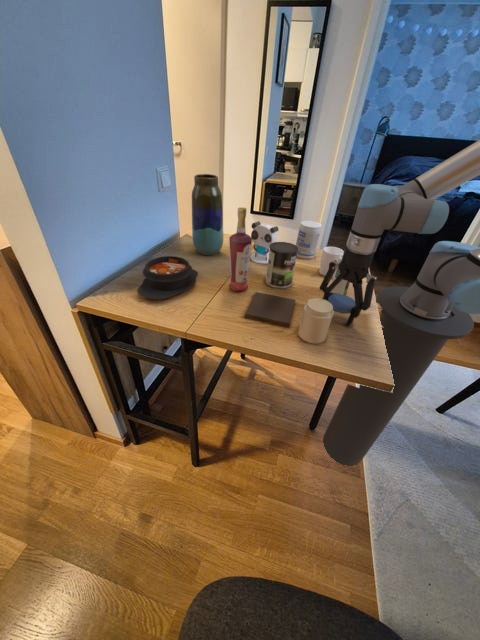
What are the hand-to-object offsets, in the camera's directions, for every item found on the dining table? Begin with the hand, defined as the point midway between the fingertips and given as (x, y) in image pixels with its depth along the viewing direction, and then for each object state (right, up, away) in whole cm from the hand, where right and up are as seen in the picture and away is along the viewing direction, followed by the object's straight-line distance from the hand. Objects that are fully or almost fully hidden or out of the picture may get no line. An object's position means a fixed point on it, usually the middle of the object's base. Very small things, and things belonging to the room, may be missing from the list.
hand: (336, 317), depth 83 cm
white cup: (+6, +19, +26) cm, 32 cm away
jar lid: (0, +5, -3) cm, 6 cm away
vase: (-46, +31, +38) cm, 67 cm away
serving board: (-21, +2, +2) cm, 21 cm away
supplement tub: (0, +30, +39) cm, 49 cm away
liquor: (-32, +10, +12) cm, 35 cm away
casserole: (-57, +11, +12) cm, 59 cm away
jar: (-10, -5, -7) cm, 13 cm away
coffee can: (-16, +14, +18) cm, 28 cm away
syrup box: (+5, +9, +13) cm, 16 cm away
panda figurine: (-21, +27, +35) cm, 49 cm away
